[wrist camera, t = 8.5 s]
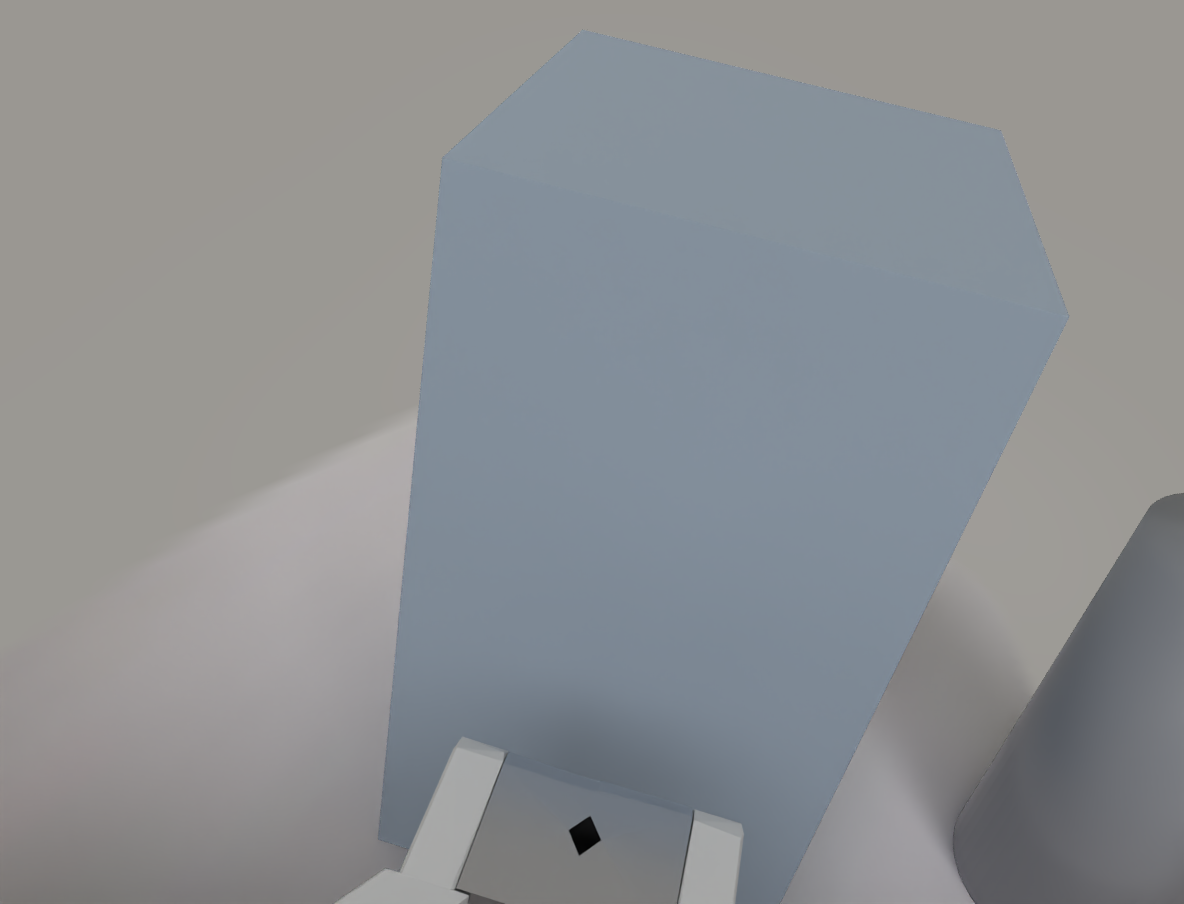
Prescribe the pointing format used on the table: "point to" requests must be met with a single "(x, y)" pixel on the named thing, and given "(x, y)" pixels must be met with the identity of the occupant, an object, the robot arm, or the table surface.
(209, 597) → the table surface
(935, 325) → the slate block
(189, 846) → the table surface
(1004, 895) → the grey cylinder
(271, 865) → the table surface
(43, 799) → the table surface
